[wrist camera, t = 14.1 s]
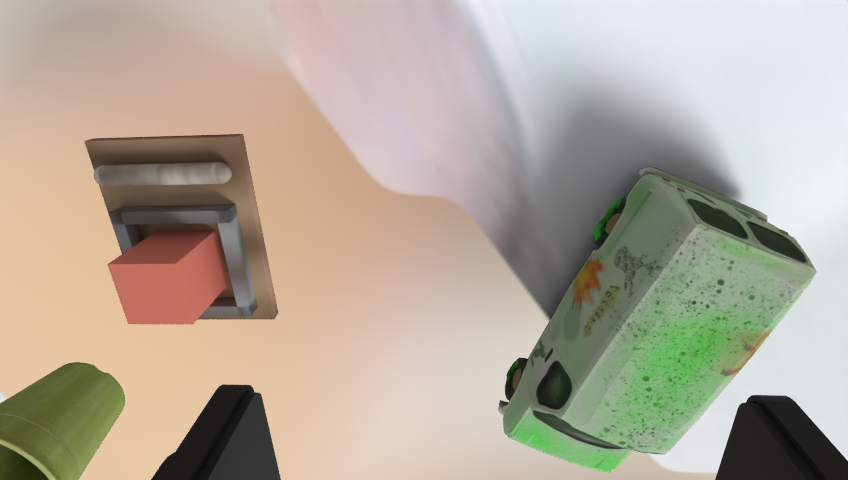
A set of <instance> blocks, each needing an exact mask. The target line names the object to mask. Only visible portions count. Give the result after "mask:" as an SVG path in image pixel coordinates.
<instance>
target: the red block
mask: <svg viewBox="0 0 848 480" xmlns="http://www.w3.org/2000/svg"><path fill="white" fill-rule="evenodd" d="M108 267H109V270H110V272H111V275H112V278H113V281H114V284H115V287H116V290H117V292H118V296H119V298H120V301H121V304H122V307H123V310H124V313H125V316H126V318H127V321H128V324H194V322H195V321H196V320H197V319H198V318H199V317H200V316H201V315H202V314H203V312H204V311H205V310H206V309H207V308H208V307H209V306H210V305H211V303H212V302H213V301H214V300H215V299H216V298H217V297H218V296H219V294H220V293H221V292H222V291H223V290H224V289H225V288H226V287H227V285H228V279H227V275H226V271H225V267H224V262H223V258H222V254H221V250H220V246H219V241H218V237H217V233H216V230H188V231H156V232H154V233H153V234H151V235H150V236H149V237H147V238H146V239H144V240H143V241H141V242H140V243H138V244H137V245H135V246H134V247H132V248H131V249H129V250H128V251H126V252H125V253H123V254H122V255H121V256H119V257H118V258H116V259H115V260H113V261H112V262H110V263H109V264H108Z"/></svg>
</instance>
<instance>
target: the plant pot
mask: <svg viewBox="0 0 848 480" xmlns="http://www.w3.org/2000/svg"><path fill="white" fill-rule="evenodd" d="M124 405H125V395H124V392H123V389H122V388H121V386H120V384H119V383H118V382H117V381H116V379H115V378H114V377H112V376H111V375H110V374H108V373H104V372H102V371H100V370H98V369H97V368H96V367H95V366H94V365H91V364H87V363H79V362H77V363H76V362H75V363H69V364H66V365H64V366H62V367H60V368H58V369H57V370H55V371H53V372H52V373H50V374H49V375H47V376H45V377H43V378H42V379H40V380H38V381H37V382H35V383H33V384H32V385H30V386H29V387H27V388H25V389H24V390H22V391H21V392H19V393H17V394H15V395H14V396H12V397H10V398H9V399H7V400H5V401H4V402H2V403H0V480H78V479H79V478H80V476H81V474H82V473H83V471H84V470H85V468H86V466H87V465H88V463H89V462H90V460H91V458H92V457H93V455H94V454H95V452H96V451H97V449H98V448H99V446H100V444H101V443H102V441H103V440H104V438H105V437H106V435H107V433H108V432H109V430H110V429H111V427H112V426H113V424H114V423H115V421H116V420H117V418H118V416H119V415H120V413H121V412H122V410H123V407H124Z"/></svg>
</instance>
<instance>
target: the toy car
mask: <svg viewBox="0 0 848 480" xmlns="http://www.w3.org/2000/svg"><path fill="white" fill-rule="evenodd" d="M647 171H648V172H650V173H653V174H655V175H653V174H647V175H644V174H645V173H646V172H647ZM638 173H639V175H640V176H641V178H640V179H639V180H638V181H637V183H636V184H635V185H634V187H633V188H632V189H631V191H630V192H629V194H628V196H627V198H626V199H621V200H618V201H617V202H616V203H615V204H614V205H612V207H611V208H610V209H609V210H608V212H607V214H606V217H605V218H604V219H603V220H602V221H601V222H599V224H598V227H597V229H596V231H595V233H594V235H593V239H594V241H595V242H596V244H597V245H598V246H600V248H599V249H598V250H595V249H594V250H593V251H592V253H591V254H590V256H589V257H588V259H587V260H586V262H585V263H584V265H583V266H582V268H581V269H580V271H579V272H578V274H577V275H576V277H575V278H574V280H573V281H572V283H571V284H570V286H569V288H568V290H567V291H566V293H565V295H564V297H563V298H562V300H561V302H560V304H559V305H558V307H557V309H556V311H555V312H554V314H553V316H552V318H551V319H550V321H549V323H548V325H547V327H546V328H545V330H544V332H543V334H542V335H541V337H540V339H539V341H538V342H537V344H536V346H535V347H534V349H533V351H532V353H531V354H530V356H529V358H528V359H526V358H518V359H517V360H516V361H515V362H514V363H513V364H512V366H511V367H510V369H509V371H508V373H507V380H506V385H505V395H506V398H507V399H508V400H509V402H504V401H501V400H500V403H499V408H498V409H499V412H500V413H501V414H503V415H504V417H503V426H504V433H505V434H506V435H508V437H509V438H511V439H513V440H516V441H518V442H520V443H522V444H524V445H527V446H529V447H531V448H534V449H536V450H538V451H541V452H543V453H546V454H549V455H551V456H554V457H557V458H559V459H562V460H566V461H568V462H571V463H574V464H577V465H580V466H584V467H587V468H591V469H595V470H598V471H601V472H610V471H611V470H612V469H615V468H616V467H617V466H618V465H619V464H620V463H621V462H622V461H623V460H624V459H625V458H626V457H627V456H629V455H630V454H631V453H632V452H633V451H634V450H635V451H639V452H643V453H652V454H666V453H667V452H668V451H669V450H671V448H672V447H673V446H674V445H675V444H676V443H677V442H678V441H679V440H680V439H681V438H682V437H683V436H684V435H685V433H686V432H687V431H688V430H689V429H690V428H691V427H692V426H693V425H694V424H695V423H696V422H697V421H698V420H699V419H700V417H701V416H702V415H703V414H704V413H705V411H706V410H707V409H708V408H709V407H710V405H711V404H712V403H713V402H714V401H715V399H716V398H717V397H718V396H719V395H720V393H721V392H722V391H723V390H724V389H725V387H726V386H727V385H728V384H729V383H730V382H731V380H732V379H733V378H734V377H735V376H736V374H737V373H738V372H739V371H740V370H741V369H742V367H743V366H744V365H745V364H746V363H747V362H748V360H749V359H750V358H751V357H752V356H753V354H754V353H755V352H756V351H757V349H758V348H759V347H760V346H761V344H762V343H763V342H764V341H765V339H766V338H767V337H768V336H769V334H770V333H771V332H772V330H773V329H774V328H775V327H776V325H777V324H778V323H779V322H780V320H781V319H782V318H783V317H784V315H785V314H786V313H787V312H788V310H789V309H790V308H791V307H792V305H793V304H794V303H795V302H796V300H797V299H798V298H799V297H800V295H801V294H802V293H803V292H804V290H805V289H806V288H807V287H808V285H809V284H810V283H811V281H812V279H813V277H814V275H815V274H816V270H815V268H814V266H813V265H812V263H811V261H810V259H809V258H808V256H807V255H806V254H805V252H804V251H803V249H802V248H801V246H800V245H799V244H798V242H797V241H796V240H795V238H793V237H791V236H790V235H788V233H787V232H785V231H783V230H780V229H778V228H777V227H775V226H774V225H772V224H770V223H768V222H767V215H765V214H763V213H762V212H760V211H758V210H755V209H753V208H751V207H748V206H746V205H744V204H741V203H739V202H737V201H734V200H732V199H730V198H727V197H725V196H723V195H720V194H718V193H716V192H713V191H711V190H709V189H706V188H704V187H701V186H699V185H696V184H694V183H691V182H688V181H686V180H683V179H681V178H678V177H676V176H673V175H671V174H668V173H666V172H663V171H661V170H658V169H655V168H651V167H646V168H643V169H640V171H639V172H638ZM643 175H644V176H643ZM656 175H658V176H656Z"/></svg>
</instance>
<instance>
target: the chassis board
mask: <svg viewBox="0 0 848 480" xmlns="http://www.w3.org/2000/svg"><path fill="white" fill-rule="evenodd" d="M85 144H86V147H87V150H88V153H89V156H90V159H91V162H92V165H93V168H94V171H95V172H94V179H95V180H96V182H97V183H98V184H99V186H100V189H101V192H102V195H103V198H104V201H105V204H106V207H107V210H108V213H109V216H110V219H111V222H112V225H113V228H114V231H115V234H116V237H117V240H118V243H119V246H120V249H121V252H122V254H123V253H125V252H126V251H128V250H129V249H131V248H132V247H134V246H135V245H137V244H138V243H140V242H141V241H143V240H144V239H146V238H147V237H149V236H150V235H151V234H153V233H154V232H156V231H188V230H216V233H217V237H218V241H219V246H220V250H221V254H222V258H223V262H224V267H225V271H226V275H227V279H228V285H227V287H226V288H225V289H224V290H223V291H222V292H221V293H220V294H219V296H218V297H217V298H216V299H215V300H214V301H213V302H212V303H211V305H210V306H209V307H208V308H207V309H206V310H205V311H204V312H203V314H202V315H201V316H200V317H199V318H198V319H275V317H276V316H277V314H278V310H277V304H276V299H275V294H274V289H273V284H272V279H271V274H270V269H269V264H268V259H267V253H266V248H265V244H264V238H263V233H262V228H261V223H260V218H259V213H258V208H257V203H256V198H255V192H254V187H253V182H252V177H251V172H250V167H249V162H248V157H247V152H246V147H245V142H244V137H243V134H230V135H197V136H163V137H135V138H134V137H131V138H98V139H91V140H87V141H85Z"/></svg>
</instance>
